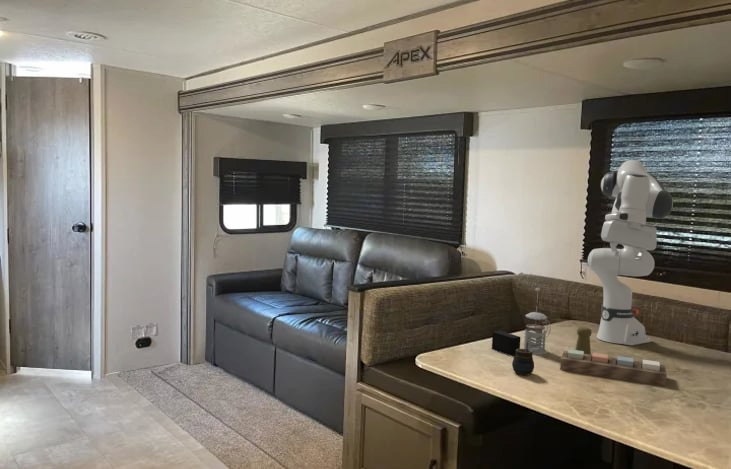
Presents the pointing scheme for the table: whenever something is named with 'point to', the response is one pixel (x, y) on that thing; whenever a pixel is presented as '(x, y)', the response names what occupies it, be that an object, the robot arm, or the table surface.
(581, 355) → the sage key
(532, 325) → the french press
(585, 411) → the table surface
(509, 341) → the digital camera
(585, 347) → the cork
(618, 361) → the slate key
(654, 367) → the cream key
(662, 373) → the key frame
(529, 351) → the mate gourd
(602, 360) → the terracotta key
